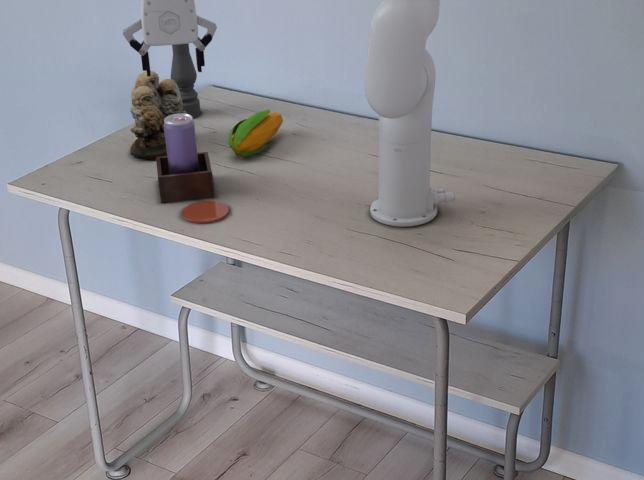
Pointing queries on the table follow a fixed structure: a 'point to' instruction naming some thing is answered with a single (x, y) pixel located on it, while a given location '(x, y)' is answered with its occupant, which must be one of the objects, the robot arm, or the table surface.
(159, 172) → the caddy
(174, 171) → the beverage can
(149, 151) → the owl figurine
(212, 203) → the coaster
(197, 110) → the candle holder
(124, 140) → the table surface
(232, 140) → the corn
